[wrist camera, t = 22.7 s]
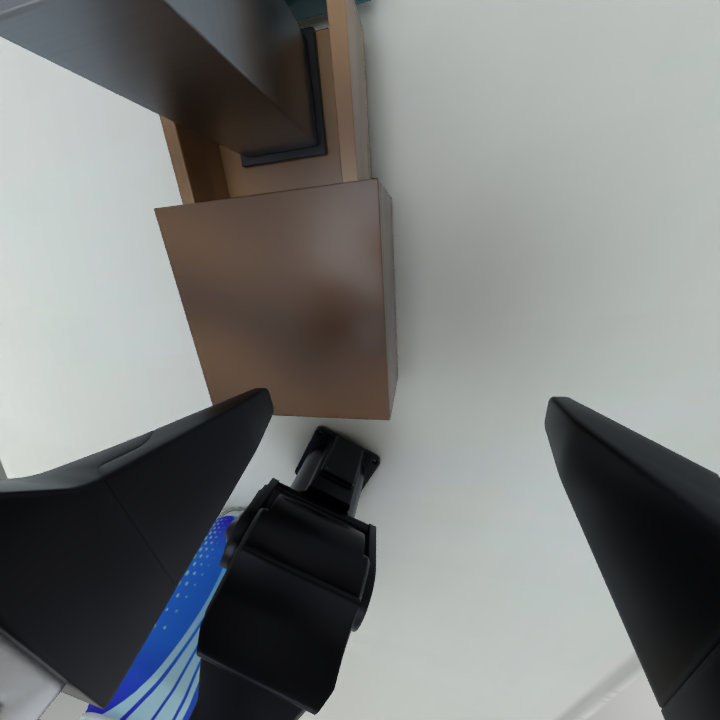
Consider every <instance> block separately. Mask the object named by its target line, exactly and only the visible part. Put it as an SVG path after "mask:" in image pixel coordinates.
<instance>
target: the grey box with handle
mask: <svg viewBox="0 0 720 720" xmlns="http://www.w3.org/2000/svg"><path fill="white" fill-rule="evenodd" d="M0 36H1V37H3V38H5V39H7V40H9V41H11V42H13V43H15V44H17V45H19V46H21V47H23V48H25V49H27V50H29V51H31V52H33V53H35V54H37V55H39V56H41V57H43V58H45V59H47V60H49V61H51V62H53V63H55V64H58V65H60V66H62V67H64V68H66V69H68V70H70V71H72V72H74V73H76V74H78V75H80V76H82V77H84V78H86V79H88V80H90V81H92V82H94V83H96V84H98V85H100V86H102V87H104V88H106V89H108V90H110V91H112V92H114V93H116V94H118V95H120V96H122V97H125V98H127V99H129V100H131V101H133V102H135V103H137V104H139V105H141V106H143V107H145V108H147V109H149V110H151V111H153V112H155V113H157V114H159V115H161V116H163V117H165V118H167V119H169V120H171V121H173V122H175V123H177V124H179V125H181V126H183V127H185V128H187V129H189V130H192V131H194V132H196V133H198V134H200V135H202V136H204V137H206V138H208V139H210V140H212V141H214V142H216V143H218V144H220V145H222V146H224V147H226V148H228V149H230V150H232V151H234V152H236V153H238V154H240V158H241V163H242V167H244V168H251V167H257V166H263V165H269V164H275V163H282V162H288V161H294V160H300V159H306V158H312V157H319V156H325V155H328V149H327V139H326V129H325V120H324V110H323V100H322V90H321V80H320V70H319V60H318V50H317V40H316V31H315V29H314V27H313V26H312V27H308V28H304V29H301V28H300V27H299V25H298V23H297V21H296V20H295V18H294V16H293V14H292V12H291V11H290V9H289V7H288V5H287V4H286V2H285V0H0Z"/></svg>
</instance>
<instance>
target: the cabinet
mask: <svg viewBox="0 0 720 720" xmlns="http://www.w3.org/2000/svg"><path fill="white" fill-rule="evenodd" d="M154 211H155V214H156V217H157V221H158V224H159V227H160V231H161V234H162V237H163V241H164V244H165V247H166V251H167V254H168V257H169V261H170V264H171V267H172V271H173V274H174V277H175V281H176V284H177V287H178V291H179V294H180V297H181V301H182V304H183V307H184V311H185V314H186V317H187V321H188V324H189V327H190V331H191V334H192V337H193V341H194V344H195V347H196V351H197V354H198V357H199V361H200V364H201V367H202V371H203V374H204V377H205V381H206V384H207V387H208V391H209V394H210V397H211V401H212V404H213V405H216V404H218V403H221V402H223V401H225V400H228V399H230V398H233V397H235V396H238V395H240V394H242V393H245V392H247V391H250V390H252V389H254V388H266V389H268V390H269V393H270V396H271V400H272V403H273V407H274V412H273V415H281V416H304V417H327V418H350V419H373V420H390V417H391V412H392V407H393V401H394V396H395V390H396V385H397V380H398V363H397V334H396V305H395V277H394V248H393V220H392V198H391V197H390V195H389V194H388V192H387V191H386V189H385V188H384V186H383V185H382V184H381V182H380V180H379V179H378V178H373V179H366V180H359V181H351V182H344V183H337V184H330V185H322V186H315V187H308V188H301V189H293V190H286V191H279V192H271V193H264V194H257V195H250V196H242V197H235V198H228V199H221V200H213V201H206V202H199V203H192V204H184V205H177V206H170V207H163V208H155V209H154Z"/></svg>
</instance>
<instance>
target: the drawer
mask: <svg viewBox="0 0 720 720" xmlns="http://www.w3.org/2000/svg"><path fill="white" fill-rule="evenodd" d="M367 1H371V0H285V2H286V4H287V5H288V7H289V9H290V11H291V12H292V14H293V16H294V18H295V20H296V21H298V20H301V19H305V18H309V17H312V16H316V15H320V14H323V13H327V14H328V26H329V28H326V29H322V30H319V31H316V40H317V50H318V60H319V70H320V80H321V90H322V100H323V110H324V120H325V129H326V139H327V149H328V155H325V156H319V157H312V158H306V159H300V160H294V161H288V162H282V163H275V164H269V165H263V166H257V167H251V168H244V167H242V163H241V158H240V154H238V153H236V152H234V151H232V150H230V149H228V148H226V147H224V146H222V145H220V144H218V143H216V142H214V141H212V140H210V139H208V138H206V137H204V136H202V135H200V134H198V133H196V132H194V131H192V130H189V129H187V128H185V127H183V126H181V125H179V124H177V123H175V122H173V121H171V120H169V119H167V118H165V117H163V116H161V115H159V116H160V120H161V123H162V127H163V131H164V135H165V138H166V142H167V146H168V150H169V153H170V157H171V161H172V165H173V168H174V172H175V176H176V180H177V183H178V187H179V191H180V195H181V198H182V202H183V205H184V204H192V203H199V202H206V201H213V200H221V199H228V198H235V197H242V196H250V195H257V194H264V193H271V192H279V191H286V190H293V189H301V188H308V187H315V186H322V185H330V184H337V183H344V182H351V181H359V180H366V179H371V166H370V148H369V131H368V113H367V95H366V77H365V60H364V42H363V29H362V26H361V22H360V18H359V15H358V11H357V7H356V4H360V3H364V2H367Z"/></svg>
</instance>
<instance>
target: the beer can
mask: <svg viewBox="0 0 720 720" xmlns="http://www.w3.org/2000/svg"><path fill="white" fill-rule="evenodd" d="M242 512H243V511H231V512H229V513H227V514H225V515H223V516H219V517H217V519H216V521H215V522H214V524H213V526H212V527H211V529H210V531H209V533H208V534H207V536H206V538H205V540H204V541H203V543H202V545H201V546H200V548H199V550H198V552H197V553H196V555H195V557H194V558H193V560H192V562H191V564H190V565H189V567H188V569H187V571H186V572H185V574H184V576H183V577H182V579H181V581H180V583H179V584H178V586H177V587H176V590H175V592H174V593H173V595H172V597H171V598H170V600H169V602H168V604H167V605H166V607H165V609H164V611H163V612H162V614H161V616H160V617H159V619H158V621H157V623H156V624H155V626H154V628H153V629H152V631H151V633H150V635H149V636H148V638H147V640H146V642H145V643H144V645H143V647H142V648H141V650H140V652H139V654H138V655H137V657H136V659H135V661H134V662H133V664H132V666H131V667H130V669H129V671H128V673H127V674H126V676H125V678H124V679H123V681H122V683H121V685H120V686H119V688H118V690H117V692H116V693H115V695H114V697H113V698H112V700H111V701H110V703H109V704H108V706H107V707H106V708H105V709H101V708H99V707H96V706H94V705H92V704H89V706H88V709H87V711H86V712H85V713H83V714H82V715H81V717H80V719H79V720H189V718H190V716H191V713H192V711H193V709H194V707H195V705H196V703H197V699H198V687H199V674H200V662H201V658H200V657H198V656H197V654H196V651H197V644H198V637H199V631H200V625H201V623H202V621H203V619H204V615H205V611H206V609H207V607H208V605H209V603H210V601H211V599H212V597H213V595H214V593H215V591H216V589H217V587H218V585H219V584H220V582H221V580H222V578H223V576H224V574H225V572H226V569H224V568H222V567H220V566H219V564H220V561H221V558H222V555H223V553H224V548H225V546H226V543H227V542H226V536H225V531H226V529H227V527H228V526H229V524H230V523H231V522H232V521H233V520H234V519H235V518H237V517H238V516H239V515H240V514H241V513H242Z"/></svg>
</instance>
